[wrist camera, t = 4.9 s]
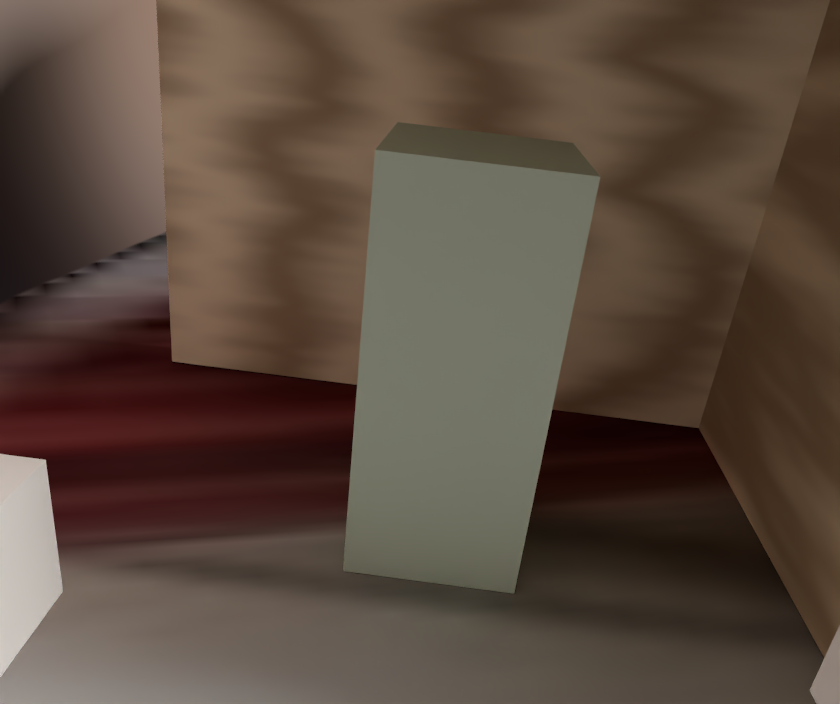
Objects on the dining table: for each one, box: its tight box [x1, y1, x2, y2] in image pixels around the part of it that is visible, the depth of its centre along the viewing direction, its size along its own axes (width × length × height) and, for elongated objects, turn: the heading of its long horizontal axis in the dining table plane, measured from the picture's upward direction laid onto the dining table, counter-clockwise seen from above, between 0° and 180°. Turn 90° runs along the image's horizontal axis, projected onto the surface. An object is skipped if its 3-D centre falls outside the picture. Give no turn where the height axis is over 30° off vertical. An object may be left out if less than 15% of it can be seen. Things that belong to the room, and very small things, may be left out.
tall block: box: [343, 122, 600, 594], centre depth 21 cm, size 5×5×12 cm
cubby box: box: [156, 0, 840, 658], centre depth 20 cm, size 24×20×20 cm
